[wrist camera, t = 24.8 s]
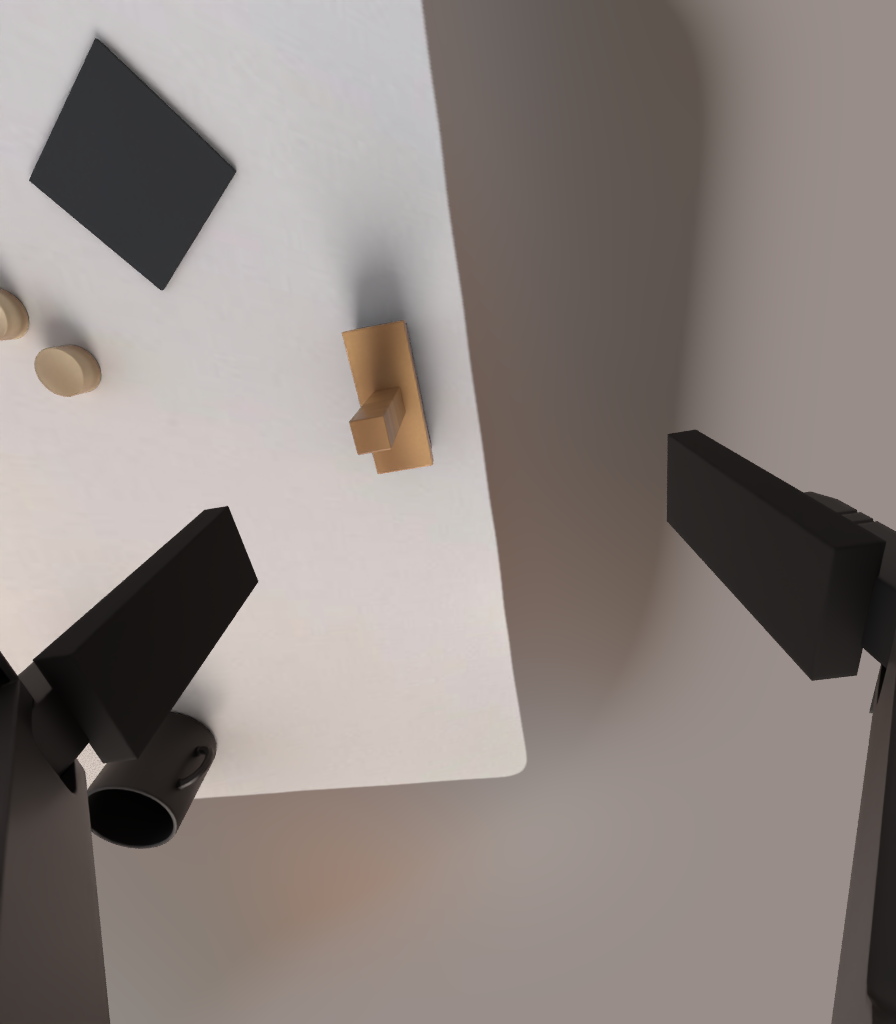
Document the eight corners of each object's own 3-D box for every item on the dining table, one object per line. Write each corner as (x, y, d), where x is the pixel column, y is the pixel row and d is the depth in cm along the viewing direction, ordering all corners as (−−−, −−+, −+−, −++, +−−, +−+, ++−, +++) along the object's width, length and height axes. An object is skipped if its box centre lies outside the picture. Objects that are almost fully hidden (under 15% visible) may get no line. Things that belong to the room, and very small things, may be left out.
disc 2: (67, 334, 37) (47, 337, 35) (109, 368, 38) (92, 372, 37) (46, 368, 38) (25, 372, 37) (87, 401, 39) (70, 406, 38)
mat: (99, 40, 30) (95, 37, 30) (236, 171, 33) (234, 169, 32) (33, 181, 33) (28, 180, 33) (163, 290, 36) (160, 290, 36)
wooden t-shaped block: (408, 317, 37) (386, 329, 25) (434, 451, 41) (426, 513, 29) (351, 328, 37) (304, 345, 25) (384, 459, 41) (356, 525, 30)
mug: (252, 751, 56) (218, 830, 48) (166, 777, 58) (119, 858, 50) (206, 694, 52) (159, 768, 44) (116, 724, 54) (55, 801, 46)
